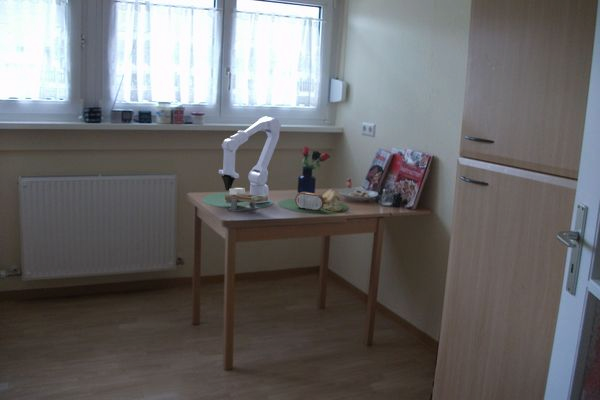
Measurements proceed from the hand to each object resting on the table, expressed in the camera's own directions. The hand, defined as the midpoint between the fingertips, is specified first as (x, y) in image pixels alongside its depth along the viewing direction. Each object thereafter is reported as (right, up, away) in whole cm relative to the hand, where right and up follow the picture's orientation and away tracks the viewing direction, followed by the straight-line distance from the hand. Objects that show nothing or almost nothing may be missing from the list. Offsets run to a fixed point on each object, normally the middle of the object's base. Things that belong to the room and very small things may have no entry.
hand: (228, 190), depth 302 cm
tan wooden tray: (+10, -7, -10) cm, 16 cm away
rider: (+5, -3, -5) cm, 8 cm away
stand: (+8, -9, -8) cm, 15 cm away
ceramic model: (+52, -9, +8) cm, 53 cm away
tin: (+41, -10, +2) cm, 42 cm away
